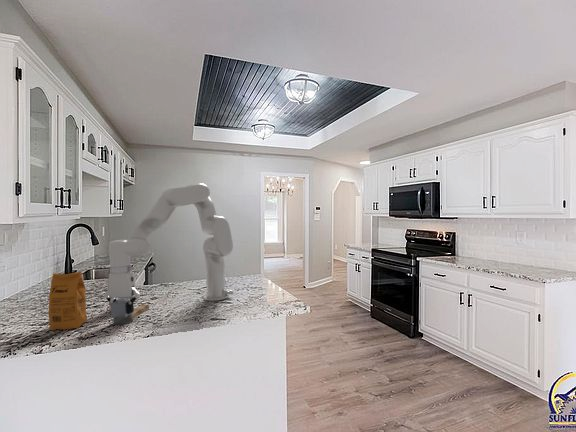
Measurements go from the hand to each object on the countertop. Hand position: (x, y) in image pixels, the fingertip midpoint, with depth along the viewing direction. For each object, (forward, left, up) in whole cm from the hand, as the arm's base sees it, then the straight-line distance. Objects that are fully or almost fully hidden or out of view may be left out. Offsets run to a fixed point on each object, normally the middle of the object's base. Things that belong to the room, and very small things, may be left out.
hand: (122, 312), depth 131 cm
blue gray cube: (0, 0, -1) cm, 1 cm away
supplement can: (+12, -16, -4) cm, 20 cm away
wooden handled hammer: (0, -7, -4) cm, 8 cm away
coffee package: (+21, +4, -4) cm, 22 cm away
